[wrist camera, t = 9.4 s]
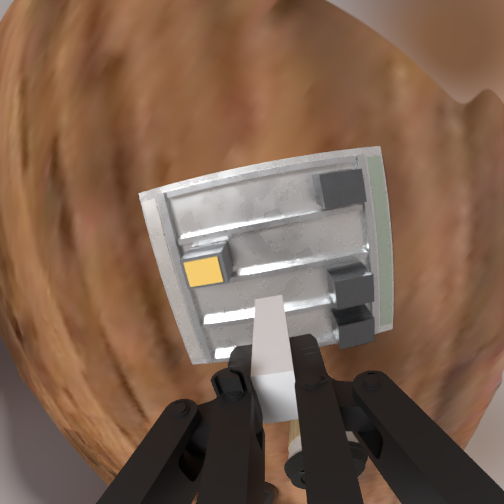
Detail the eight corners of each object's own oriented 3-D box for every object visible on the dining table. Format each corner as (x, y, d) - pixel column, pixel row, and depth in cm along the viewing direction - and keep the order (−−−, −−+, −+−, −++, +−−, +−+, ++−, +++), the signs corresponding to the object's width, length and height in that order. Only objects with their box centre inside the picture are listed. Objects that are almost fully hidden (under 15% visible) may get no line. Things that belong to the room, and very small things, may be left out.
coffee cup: (315, 420, 39) (326, 495, 25) (267, 398, 38) (266, 483, 23) (359, 383, 36) (387, 461, 22) (311, 357, 35) (330, 446, 21)
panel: (195, 355, 36) (185, 384, 30) (145, 191, 30) (121, 197, 24) (387, 321, 33) (405, 346, 28) (373, 147, 28) (396, 143, 22)
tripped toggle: (197, 274, 30) (187, 290, 26) (189, 248, 29) (178, 260, 25) (233, 268, 30) (228, 284, 26) (226, 241, 29) (220, 252, 25)
